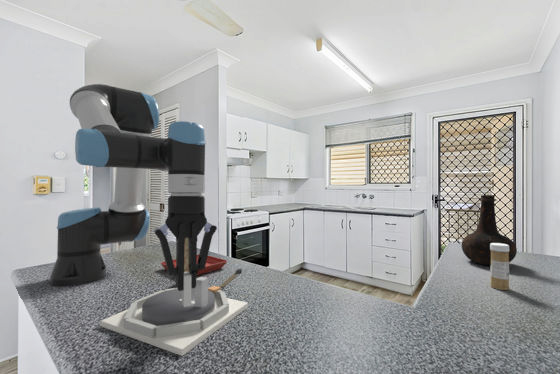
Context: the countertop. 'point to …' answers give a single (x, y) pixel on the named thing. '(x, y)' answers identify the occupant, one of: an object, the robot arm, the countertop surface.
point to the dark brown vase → (486, 235)
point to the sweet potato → (186, 256)
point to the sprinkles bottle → (499, 266)
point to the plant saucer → (210, 265)
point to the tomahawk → (230, 279)
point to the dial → (179, 305)
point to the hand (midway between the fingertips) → (186, 303)
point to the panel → (180, 339)
